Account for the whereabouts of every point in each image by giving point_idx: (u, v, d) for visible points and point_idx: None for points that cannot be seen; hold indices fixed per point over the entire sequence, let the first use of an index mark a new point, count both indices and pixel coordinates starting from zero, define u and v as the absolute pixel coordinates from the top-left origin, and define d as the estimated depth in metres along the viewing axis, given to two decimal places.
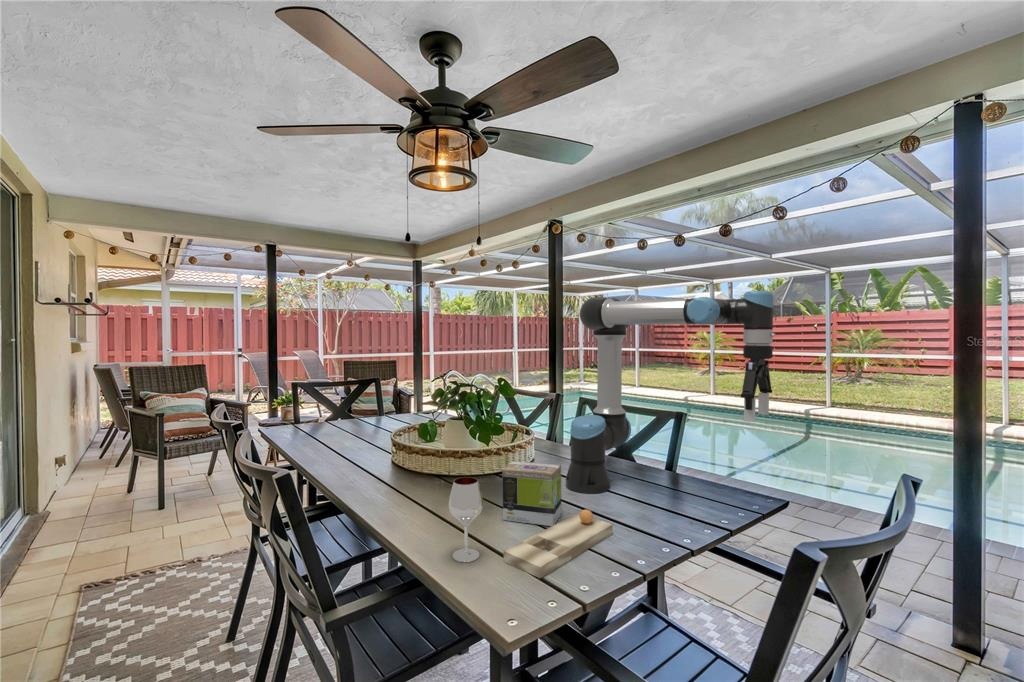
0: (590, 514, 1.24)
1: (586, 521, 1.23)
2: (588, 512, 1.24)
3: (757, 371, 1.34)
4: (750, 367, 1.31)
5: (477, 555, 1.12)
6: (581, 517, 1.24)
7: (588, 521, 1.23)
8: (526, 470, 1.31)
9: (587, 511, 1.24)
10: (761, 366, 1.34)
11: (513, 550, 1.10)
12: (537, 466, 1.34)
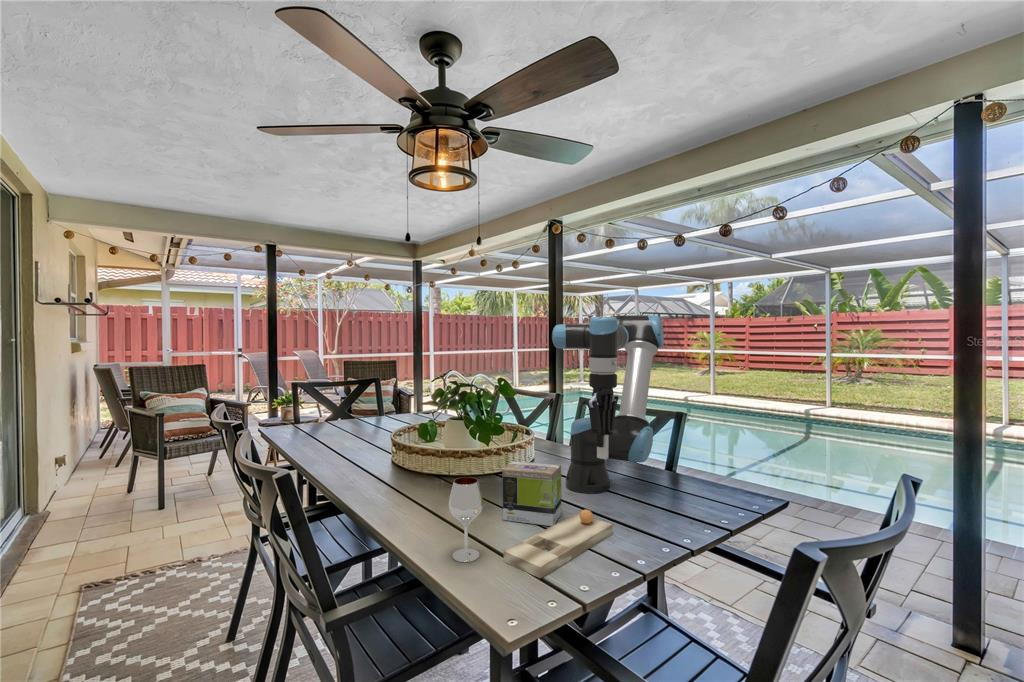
0: (590, 514, 1.24)
1: (586, 521, 1.23)
2: (588, 512, 1.24)
3: (601, 404, 1.28)
4: (591, 406, 1.26)
5: (477, 555, 1.12)
6: (581, 517, 1.24)
7: (588, 521, 1.23)
8: (526, 470, 1.31)
9: (587, 511, 1.24)
10: (604, 397, 1.27)
11: (513, 550, 1.10)
12: (537, 466, 1.34)
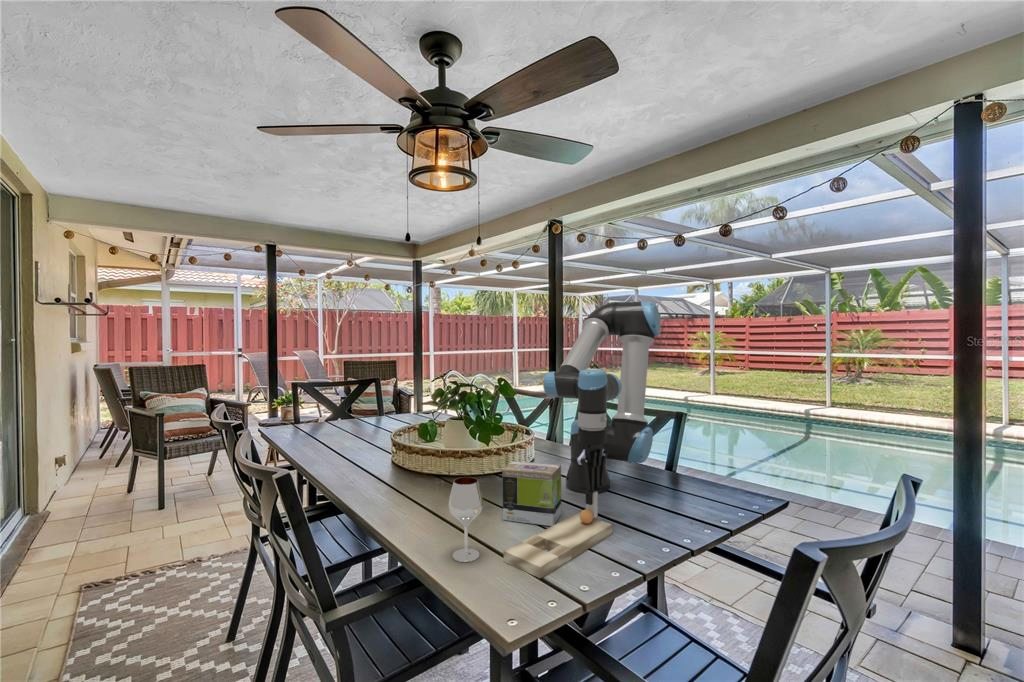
0: (590, 514, 1.24)
1: (586, 521, 1.23)
2: (588, 512, 1.24)
3: (590, 461, 1.24)
4: (580, 463, 1.22)
5: (477, 555, 1.12)
6: (581, 517, 1.24)
7: (588, 521, 1.23)
8: (526, 470, 1.31)
9: (587, 511, 1.24)
10: (593, 454, 1.24)
11: (513, 550, 1.10)
12: (537, 466, 1.34)
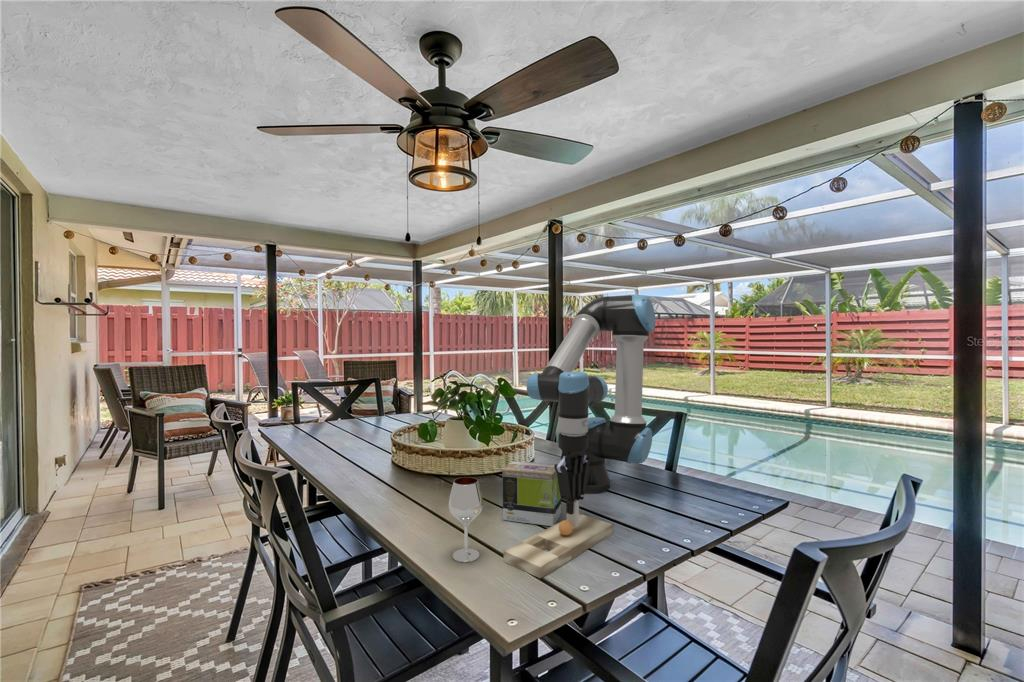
0: (571, 525, 1.17)
1: (565, 527, 1.16)
2: (570, 523, 1.18)
3: (571, 468, 1.18)
4: (559, 471, 1.16)
5: (477, 555, 1.12)
6: (562, 522, 1.18)
7: (567, 529, 1.16)
8: (526, 470, 1.31)
9: None
10: (573, 461, 1.17)
11: (513, 550, 1.10)
12: (537, 466, 1.34)
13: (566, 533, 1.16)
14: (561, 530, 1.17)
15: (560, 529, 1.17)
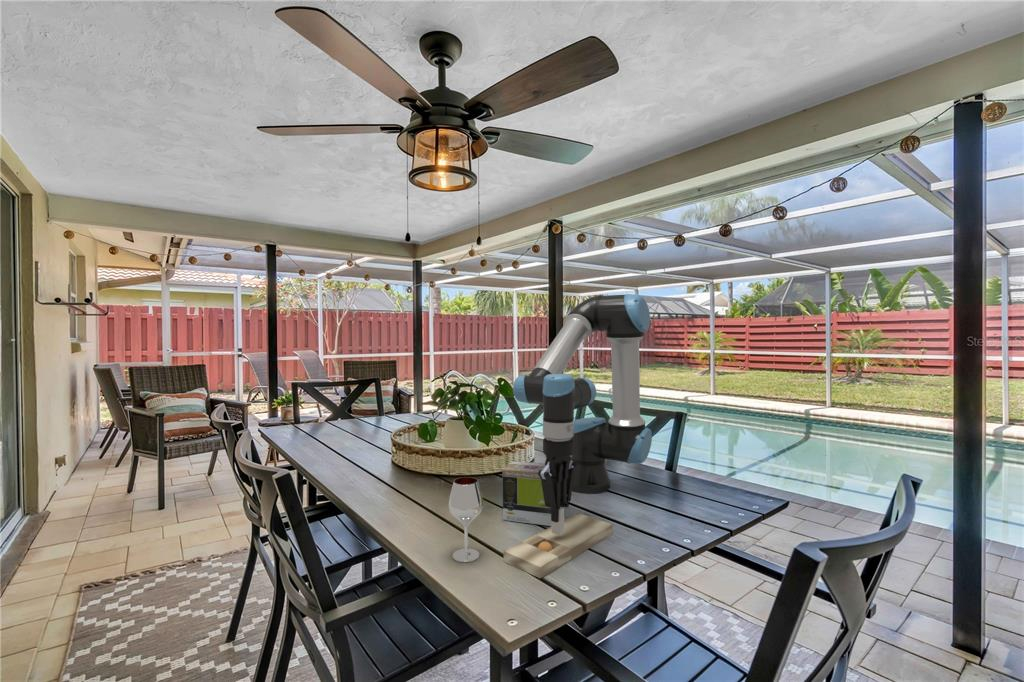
0: None
1: (548, 544, 1.11)
2: None
3: (556, 474, 1.13)
4: (543, 477, 1.11)
5: (477, 555, 1.12)
6: None
7: (548, 546, 1.11)
8: (526, 470, 1.31)
9: None
10: (558, 467, 1.13)
11: (513, 550, 1.10)
12: (537, 466, 1.34)
13: (545, 549, 1.10)
14: (542, 544, 1.11)
15: (541, 543, 1.11)
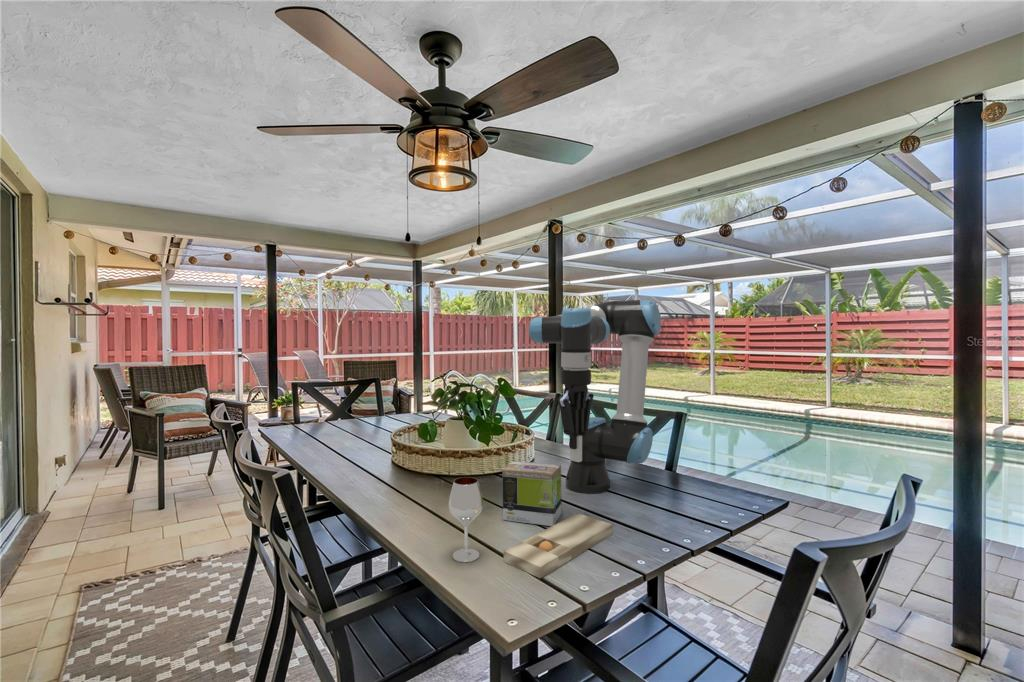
0: None
1: (549, 544, 1.12)
2: None
3: (574, 402, 1.18)
4: (562, 405, 1.16)
5: (477, 555, 1.12)
6: None
7: (550, 546, 1.11)
8: (526, 470, 1.31)
9: None
10: (576, 395, 1.18)
11: (513, 550, 1.10)
12: (537, 466, 1.34)
13: (546, 548, 1.10)
14: (544, 543, 1.11)
15: (543, 542, 1.12)
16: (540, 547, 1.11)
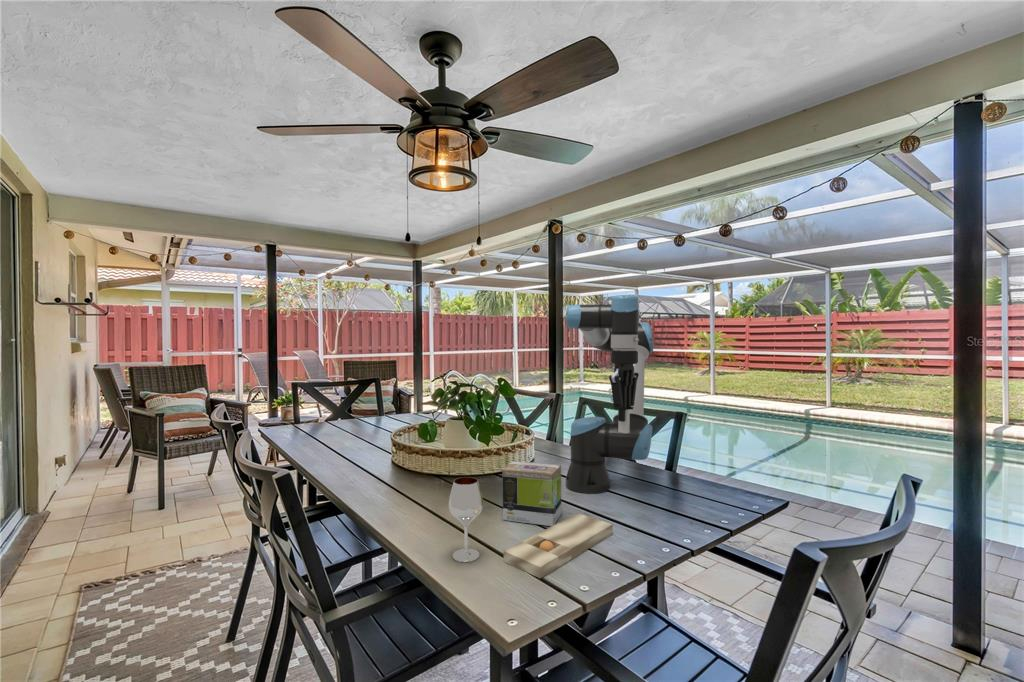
0: None
1: (550, 543, 1.12)
2: None
3: (623, 379, 1.32)
4: (613, 381, 1.30)
5: (477, 555, 1.12)
6: None
7: (551, 545, 1.11)
8: (526, 470, 1.31)
9: None
10: (625, 373, 1.32)
11: (513, 550, 1.10)
12: (537, 466, 1.34)
13: (547, 547, 1.11)
14: (545, 542, 1.12)
15: (544, 541, 1.12)
16: (541, 546, 1.11)
